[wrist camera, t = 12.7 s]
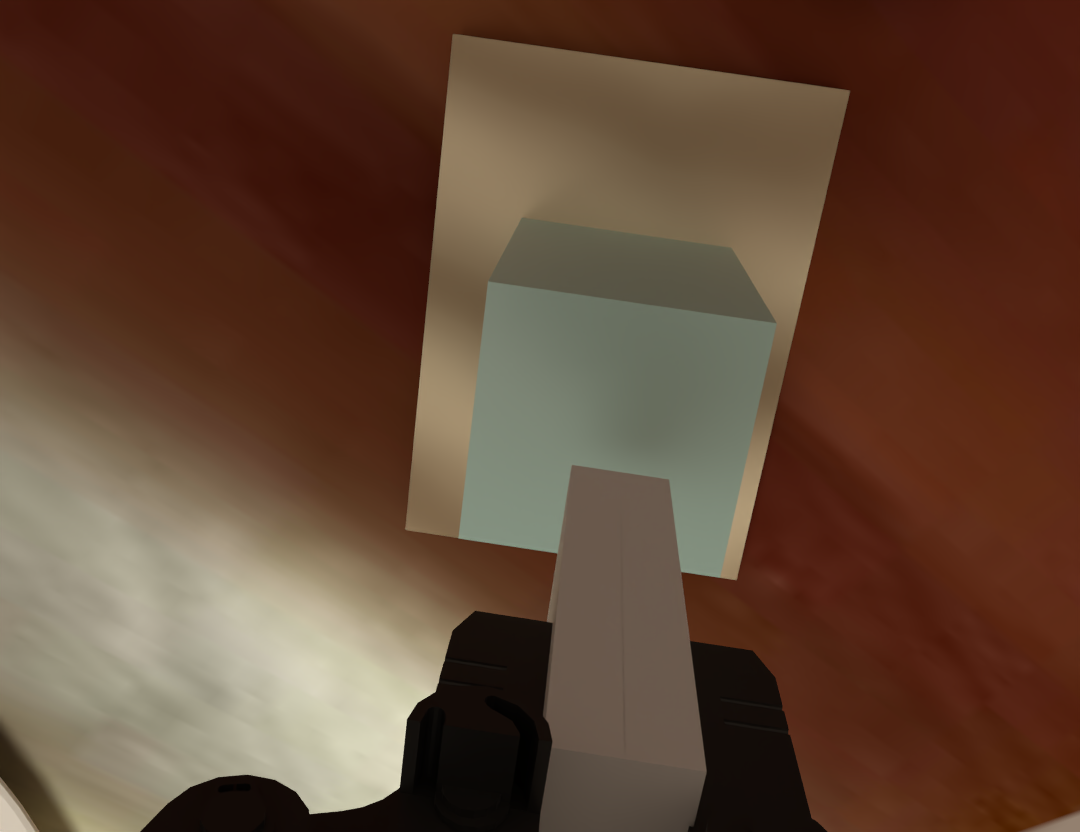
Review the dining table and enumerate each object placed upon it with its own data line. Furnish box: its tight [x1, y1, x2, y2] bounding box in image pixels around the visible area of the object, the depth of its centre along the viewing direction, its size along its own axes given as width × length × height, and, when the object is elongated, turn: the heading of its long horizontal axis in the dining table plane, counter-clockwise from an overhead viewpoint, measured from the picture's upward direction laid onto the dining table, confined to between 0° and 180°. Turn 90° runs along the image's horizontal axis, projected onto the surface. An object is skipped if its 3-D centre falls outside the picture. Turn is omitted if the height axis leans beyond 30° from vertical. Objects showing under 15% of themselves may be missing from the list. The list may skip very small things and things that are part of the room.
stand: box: [405, 34, 850, 580], centre depth 25 cm, size 14×10×7 cm
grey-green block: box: [458, 218, 777, 578], centre depth 24 cm, size 6×6×8 cm
